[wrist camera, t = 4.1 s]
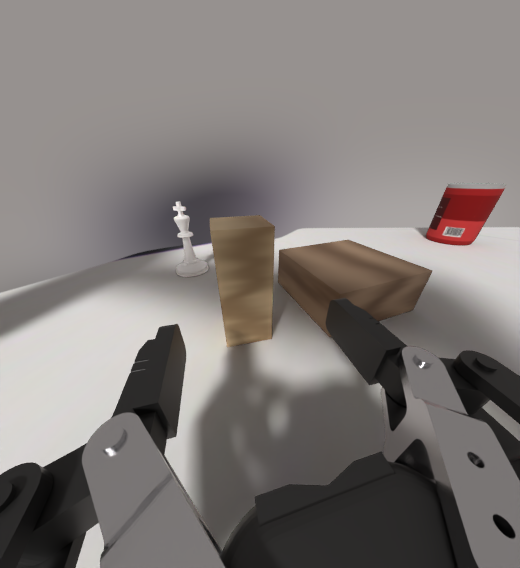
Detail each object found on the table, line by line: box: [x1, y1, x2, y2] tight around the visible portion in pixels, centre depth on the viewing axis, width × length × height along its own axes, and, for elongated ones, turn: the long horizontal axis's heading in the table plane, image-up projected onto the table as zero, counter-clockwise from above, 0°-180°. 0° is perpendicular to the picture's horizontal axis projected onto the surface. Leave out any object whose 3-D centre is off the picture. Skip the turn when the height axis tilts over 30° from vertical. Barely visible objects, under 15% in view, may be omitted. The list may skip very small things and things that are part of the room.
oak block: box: [210, 215, 275, 347], centre depth 16 cm, size 4×4×10 cm
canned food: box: [426, 183, 506, 245], centre depth 38 cm, size 8×8×11 cm
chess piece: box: [173, 202, 209, 277], centre depth 27 cm, size 5×5×10 cm
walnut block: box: [278, 240, 432, 337], centre depth 22 cm, size 11×11×5 cm
